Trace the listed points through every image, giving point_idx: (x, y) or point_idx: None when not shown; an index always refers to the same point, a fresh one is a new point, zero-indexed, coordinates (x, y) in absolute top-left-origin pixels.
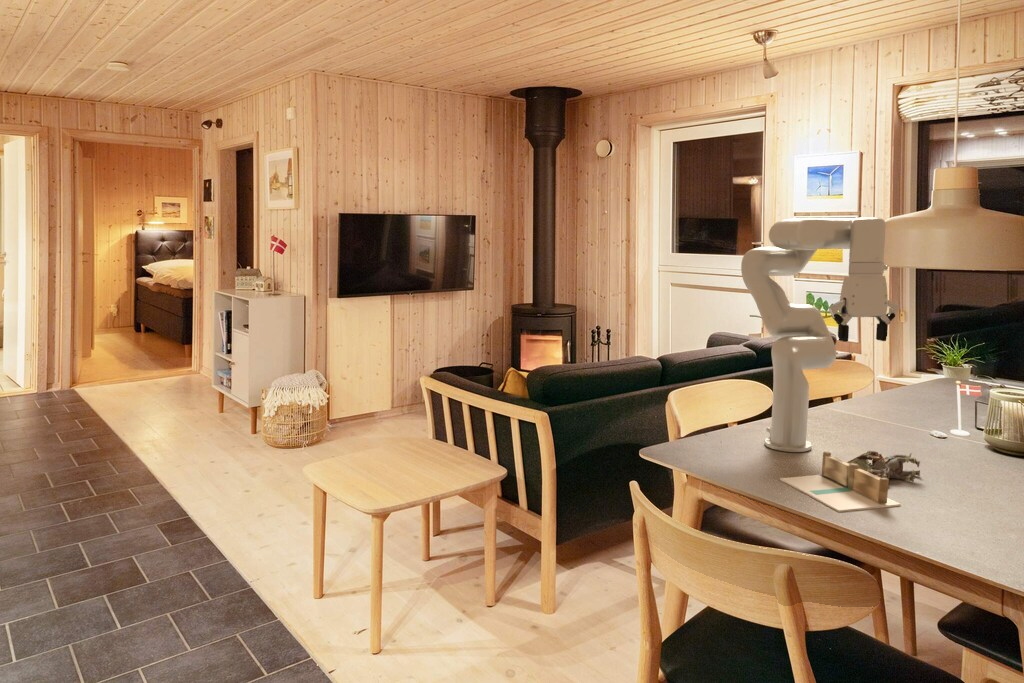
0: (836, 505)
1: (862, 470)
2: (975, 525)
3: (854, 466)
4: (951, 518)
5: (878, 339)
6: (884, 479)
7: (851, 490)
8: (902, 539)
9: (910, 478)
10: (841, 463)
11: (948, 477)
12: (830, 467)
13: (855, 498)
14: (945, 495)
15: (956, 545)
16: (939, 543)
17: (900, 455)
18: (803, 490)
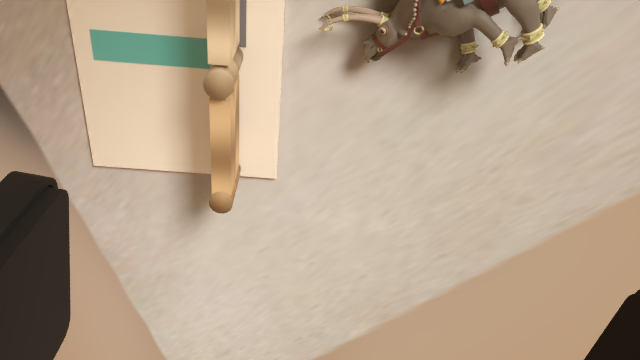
0: (106, 140)
1: (224, 117)
2: (339, 288)
3: (211, 96)
4: (326, 255)
5: (607, 332)
6: (218, 206)
7: None
8: (144, 293)
9: (463, 55)
10: (207, 33)
11: (618, 51)
12: None
13: (189, 116)
14: (451, 157)
15: (223, 331)
16: (200, 319)
17: (511, 5)
18: (72, 17)
